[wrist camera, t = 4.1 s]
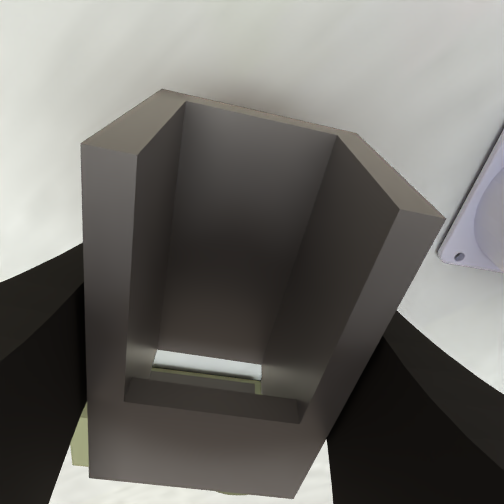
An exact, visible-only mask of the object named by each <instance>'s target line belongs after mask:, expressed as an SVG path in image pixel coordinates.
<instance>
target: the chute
mask: <svg viewBox="0 0 504 504" xmlns="http://www.w3.org/2000/svg"><path fill="white" fill-rule="evenodd" d="M81 180H82V219H83V259H84V298H85V337H86V377H87V416H88V456H89V478H94V479H104V480H113V481H123V482H133V483H143V484H152V485H162V486H172V487H181V488H191V489H201V490H210V491H220V492H230V493H240V494H249V495H259V496H269V497H278V498H288V499H294V497H295V495H296V493H297V491H298V490H299V488H300V486H301V484H302V482H303V480H304V479H305V477H306V475H307V473H308V471H309V469H310V468H311V466H312V464H313V462H314V460H315V458H316V457H317V455H318V453H319V451H320V449H321V447H322V446H323V444H324V442H325V440H326V438H327V436H328V435H329V433H330V431H331V429H332V427H333V425H334V424H335V422H336V420H337V418H338V416H339V414H340V413H341V411H342V409H343V407H344V405H345V403H346V402H347V400H348V398H349V396H350V394H351V392H352V390H353V389H354V387H355V385H356V383H357V381H358V379H359V378H360V376H361V374H362V372H363V370H364V368H365V367H366V365H367V363H368V361H369V359H370V357H371V356H372V354H373V352H374V350H375V348H376V346H377V345H378V343H379V341H380V339H381V337H382V335H383V334H384V332H385V330H386V328H387V326H388V324H389V323H390V321H391V319H392V317H393V315H394V313H395V312H396V310H397V308H398V306H399V304H400V302H401V301H402V299H403V297H404V295H405V293H406V291H407V290H408V288H409V286H410V284H411V282H412V280H413V278H414V277H415V275H416V273H417V271H418V269H419V267H420V266H421V264H422V262H423V260H424V258H425V256H426V255H427V253H428V251H429V249H430V247H431V245H432V244H433V242H434V240H435V238H436V236H437V234H438V233H439V231H440V229H441V227H442V225H443V223H444V222H445V220H446V218H445V217H444V216H443V215H442V214H441V213H440V212H439V211H438V210H437V209H435V208H434V207H433V206H432V205H431V204H430V203H429V202H428V201H427V200H426V199H425V198H424V197H423V196H422V195H421V194H420V193H419V192H418V191H417V190H416V189H415V188H413V187H412V186H411V185H410V184H409V183H408V182H407V181H406V180H405V179H404V178H403V177H402V176H401V175H400V174H399V173H398V172H397V171H396V170H395V169H394V168H392V167H391V166H390V165H389V164H388V163H387V162H386V161H385V160H384V159H383V158H382V157H381V156H380V155H379V154H378V153H377V152H376V151H375V150H374V149H373V148H372V147H370V146H369V145H368V144H367V143H366V142H365V141H364V140H363V139H362V138H361V137H360V136H359V135H358V134H357V133H353V132H349V131H344V130H340V129H335V128H331V127H327V126H322V125H318V124H313V123H309V122H305V121H300V120H296V119H292V118H287V117H283V116H278V115H274V114H270V113H265V112H261V111H257V110H252V109H248V108H243V107H239V106H235V105H230V104H226V103H221V102H217V101H213V100H208V99H204V98H200V97H195V96H191V95H186V94H182V93H178V92H173V91H169V90H164V89H161V90H160V91H158V92H157V93H155V94H154V95H152V96H151V97H149V98H148V99H146V100H145V101H143V102H142V103H140V104H139V105H137V106H136V107H134V108H133V109H131V110H130V111H128V112H127V113H125V114H124V115H122V116H121V117H119V118H118V119H116V120H115V121H113V122H112V123H110V124H109V125H107V126H106V127H104V128H103V129H101V130H100V131H98V132H97V133H95V134H94V135H92V136H91V137H89V138H88V139H86V140H85V141H83V142H82V143H81ZM157 349H158V350H164V351H171V352H178V353H185V354H192V355H199V356H206V357H212V358H219V359H226V360H233V361H240V362H247V363H254V364H260V365H261V367H262V393H263V395H260V394H253V393H245V392H238V391H231V390H223V389H216V388H208V387H201V386H194V385H186V384H179V383H172V382H164V381H157V380H150V379H149V376H150V373H151V369H152V366H153V362H154V359H155V355H156V352H157Z"/></svg>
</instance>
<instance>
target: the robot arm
mask: <svg viewBox="0 0 504 504" xmlns="http://www.w3.org/2000/svg"><path fill="white" fill-rule="evenodd" d="M458 253H461V254H460V255H459V256H457V257H455V255H456V254H458ZM438 257H439V258H440V259H441V260H442V262H445V263H449V264H455V265H461V266H466V267H472V268H478V269H484V270H490V271H496V272H501V273H504V130H503V132H502V133H501V135H500V137H499V139H498V141H497V143H496V145H495V146H494V148H493V150H492V152H491V154H490V156H489V158H488V159H487V161H486V163H485V165H484V167H483V169H482V171H481V172H480V174H479V176H478V178H477V180H476V182H475V184H474V186H473V187H472V189H471V191H470V193H469V195H468V197H467V199H466V200H465V202H464V204H463V206H462V208H461V210H460V212H459V213H458V215H457V217H456V219H455V221H454V223H453V225H452V226H451V228H450V230H449V232H448V234H447V236H446V238H445V239H444V241H443V243H442V245H441V247H440V249H439V251H438ZM86 403H87V377H86V337H85V298H84V259H83V243H81V244H79V245H78V246H76V247H74V248H72V249H70V250H68V251H66V252H65V253H63V254H61V255H59V256H57V257H55V258H53V259H51V260H49V261H47V262H44V263H42V264H40V265H38V266H36V267H34V268H32V269H30V270H28V271H26V272H24V273H22V274H19V275H17V276H15V277H12V278H10V279H8V280H5V281H3V282H0V504H48V503H49V501H50V498H51V495H52V492H53V490H54V487H55V484H56V481H57V478H58V476H59V473H60V470H61V467H62V465H63V462H64V459H65V456H66V454H67V451H68V448H69V446H70V443H71V440H72V438H73V435H74V432H75V430H76V427H77V424H78V422H79V419H80V416H81V414H82V412H83V409H84V407H85V405H86ZM326 439H327V445H328V454H329V464H330V473H331V482H332V493H333V504H504V394H502V393H501V392H499V391H497V390H496V389H494V388H493V387H491V386H490V385H489V384H487V383H486V382H484V381H483V380H481V379H480V378H478V377H477V376H476V375H474V374H473V373H472V372H470V371H469V370H468V369H466V368H465V367H464V366H462V365H461V364H460V363H458V362H457V361H456V360H454V359H453V358H452V357H450V356H449V355H448V354H446V353H445V352H444V351H443V350H441V349H440V348H439V347H438V346H436V345H435V344H434V343H433V342H432V341H430V340H429V339H428V338H427V337H426V336H425V335H423V334H422V333H421V332H420V331H419V330H418V329H416V328H415V327H414V326H413V325H412V324H411V323H410V322H409V321H407V320H406V319H405V318H404V317H403V316H402V315H401V314H400V313H399V312H398V311H397V310H396V312H395V313H394V315H393V317H392V319H391V321H390V323H389V324H388V326H387V328H386V330H385V332H384V334H383V335H382V337H381V339H380V341H379V343H378V345H377V346H376V348H375V350H374V352H373V354H372V356H371V357H370V359H369V361H368V363H367V365H366V367H365V368H364V370H363V372H362V374H361V376H360V378H359V379H358V381H357V383H356V385H355V387H354V389H353V390H352V392H351V394H350V396H349V398H348V400H347V402H346V403H345V405H344V407H343V409H342V411H341V413H340V414H339V416H338V418H337V420H336V422H335V424H334V425H333V427H332V429H331V431H330V433H329V435H328V436H327V438H326Z"/></svg>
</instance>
